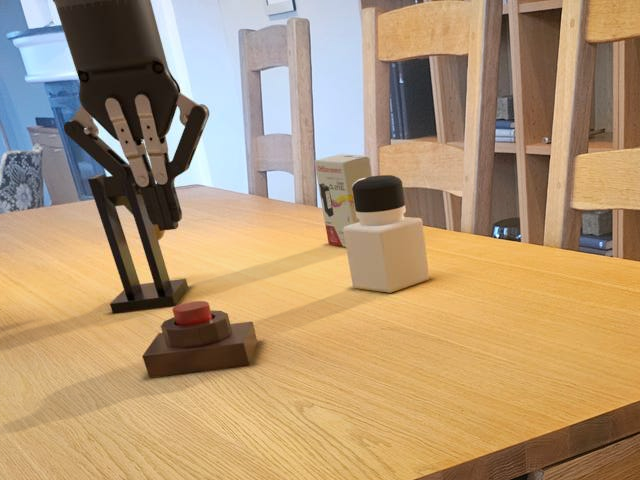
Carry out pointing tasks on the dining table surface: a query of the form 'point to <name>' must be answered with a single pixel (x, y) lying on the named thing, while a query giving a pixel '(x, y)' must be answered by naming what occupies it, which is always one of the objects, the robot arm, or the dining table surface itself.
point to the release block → (200, 346)
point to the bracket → (134, 292)
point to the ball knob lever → (122, 197)
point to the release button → (192, 313)
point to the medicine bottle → (384, 238)
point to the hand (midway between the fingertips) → (169, 228)
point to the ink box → (340, 191)
